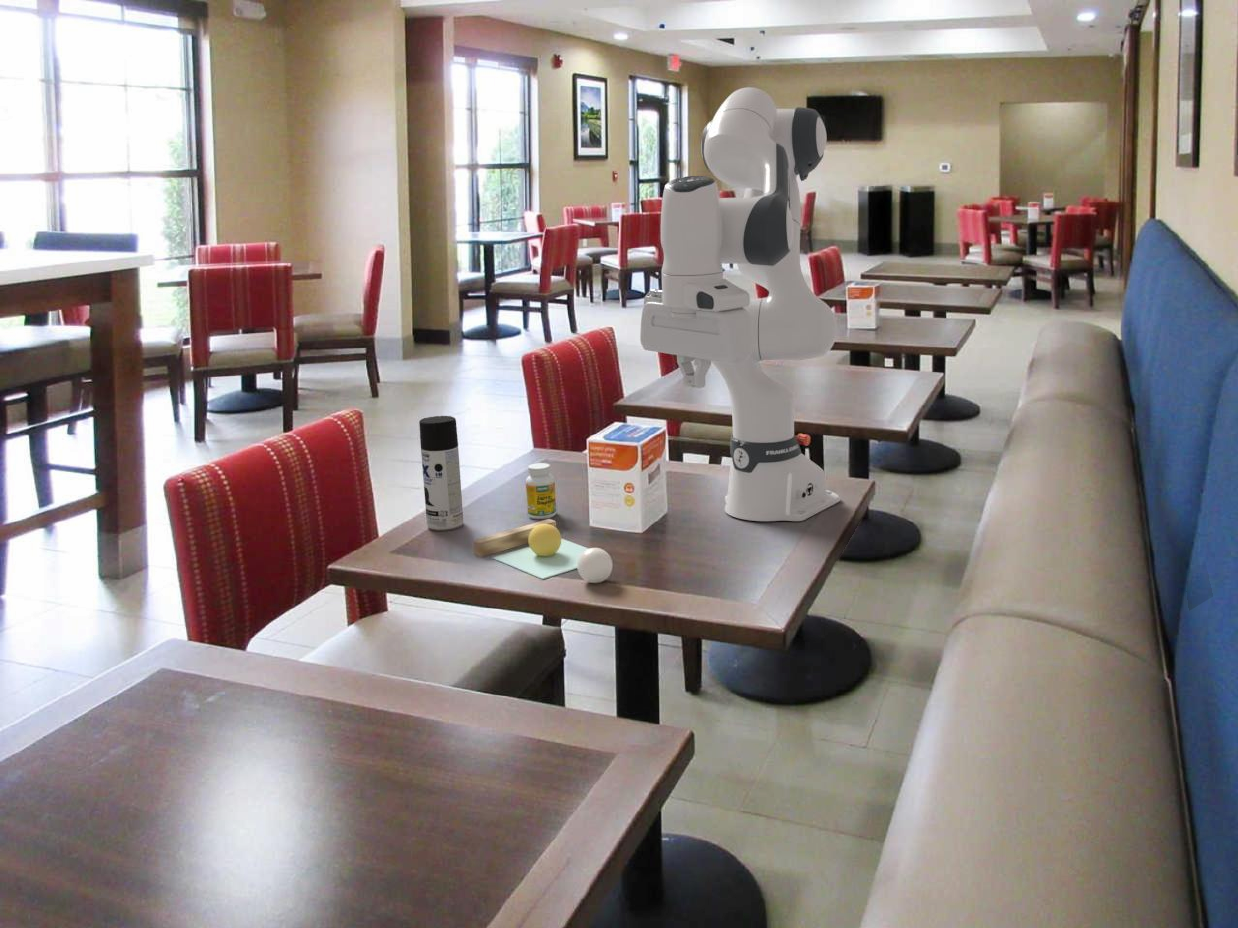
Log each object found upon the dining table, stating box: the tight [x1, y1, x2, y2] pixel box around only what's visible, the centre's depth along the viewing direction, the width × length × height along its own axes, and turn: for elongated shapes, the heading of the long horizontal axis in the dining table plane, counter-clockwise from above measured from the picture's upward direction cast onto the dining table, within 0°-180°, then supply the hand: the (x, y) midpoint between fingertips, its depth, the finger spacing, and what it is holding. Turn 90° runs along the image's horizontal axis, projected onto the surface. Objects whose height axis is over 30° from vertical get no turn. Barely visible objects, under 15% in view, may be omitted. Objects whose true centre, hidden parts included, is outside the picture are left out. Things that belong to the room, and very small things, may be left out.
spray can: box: [418, 415, 464, 532], centre depth 210 cm, size 7×7×20 cm
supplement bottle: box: [525, 462, 557, 520], centre depth 215 cm, size 5×5×10 cm
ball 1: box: [528, 524, 562, 557], centre depth 194 cm, size 6×6×6 cm
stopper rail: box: [472, 518, 557, 558], centre depth 201 cm, size 16×2×2 cm, turn 130°
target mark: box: [492, 537, 590, 581], centre depth 194 cm, size 14×14×1 cm
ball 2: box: [577, 547, 613, 584], centre depth 182 cm, size 6×6×6 cm
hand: (694, 386), depth 172 cm, fingers closed
